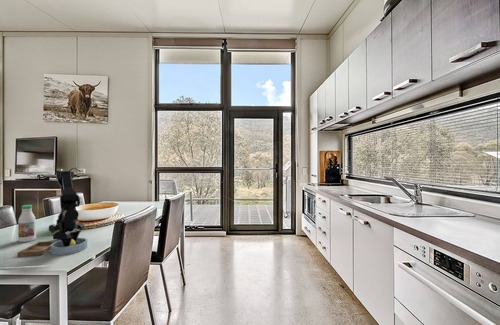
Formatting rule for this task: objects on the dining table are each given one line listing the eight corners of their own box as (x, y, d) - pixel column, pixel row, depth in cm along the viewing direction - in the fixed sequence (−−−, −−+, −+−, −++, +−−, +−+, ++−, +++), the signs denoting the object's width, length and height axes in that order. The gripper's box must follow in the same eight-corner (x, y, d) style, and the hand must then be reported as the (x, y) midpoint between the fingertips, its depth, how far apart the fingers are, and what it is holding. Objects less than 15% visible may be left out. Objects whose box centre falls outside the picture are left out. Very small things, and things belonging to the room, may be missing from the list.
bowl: (61, 245, 144) (61, 238, 144) (92, 244, 146) (92, 237, 146) (43, 256, 129) (43, 248, 129) (78, 254, 131) (78, 246, 131)
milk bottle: (22, 239, 155) (21, 204, 154) (38, 237, 158) (37, 203, 157) (15, 243, 148) (15, 207, 147) (32, 241, 150) (32, 206, 150)
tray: (39, 246, 143) (38, 241, 143) (59, 245, 144) (59, 241, 144) (17, 257, 127) (17, 252, 127) (40, 256, 128) (40, 251, 128)
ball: (67, 247, 140) (67, 237, 139) (77, 246, 140) (77, 237, 140) (61, 250, 135) (61, 240, 134) (72, 250, 135) (72, 240, 135)
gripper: (62, 213, 145) (62, 242, 145) (40, 222, 127) (41, 255, 127) (84, 213, 147) (84, 241, 147) (66, 221, 128) (66, 253, 129)
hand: (69, 247), depth 137 cm, fingers closed on ball, 5 cm apart
